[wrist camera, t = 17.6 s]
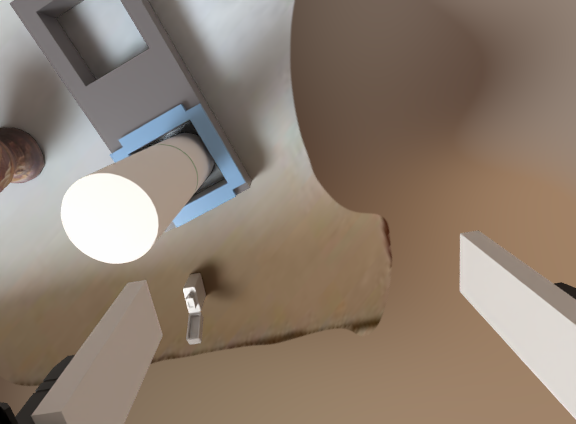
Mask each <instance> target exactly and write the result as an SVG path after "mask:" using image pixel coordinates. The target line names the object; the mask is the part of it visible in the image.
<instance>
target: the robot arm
mask: <svg viewBox="0 0 576 424" xmlns="http://www.w3.org/2000/svg"><path fill="white" fill-rule="evenodd" d="M460 292H461V293H462V294H463V295H464V297H465V298H466V299H467V300H468V301H469V302H470V303H471V304H472V305H473V307H474V308H475V309H476V310H477V311H478V312H479V313H480V314H481V315H482V316H483V317H484V319H485V320H486V321H487V322H488V323H489V324H490V325H491V326H492V328H493V329H494V330H495V331H496V332H497V333H498V334H499V335H500V336H501V337H502V339H504V341H505V342H506V343H507V344H508V345H509V346H510V347H511V348H512V350H513V351H514V352H515V353H516V354H517V355H518V356H519V357H520V358H521V359H522V361H523V362H524V363H525V364H526V365H527V366H528V367H529V368H530V370H531V371H532V372H533V373H534V374H535V375H536V376H537V377H538V378H539V379H540V381H541V382H542V383H543V384H544V385H545V386H546V387H547V388H548V389H549V390H550V391H551V393H552V394H553V395H554V396H555V397H556V398H557V399H558V400H559V402H560V403H561V404H562V405H563V406H564V407H565V408H566V409H567V410H568V412H569V413H570V414H572V416H573V417H574V418H575V419H576V288H574V287H572V286H569V285H567V284H564V283H555V284H553V283H552V282H550V281H549V280H547V279H546V278H545V277H543V276H542V275H540V274H539V273H538V272H536V271H535V270H533V269H532V268H531V267H529V266H528V265H526V264H525V263H524V262H522V261H520V260H519V259H518V258H516V257H515V256H513V255H512V254H511V253H509V252H508V251H507V250H505V249H504V248H502V247H501V246H499V245H498V244H497V243H495V242H494V241H493V240H491V239H489V238H488V237H487V236H485V235H484V234H483V233H481V232H480V231H473V232H466V233H461V234H460ZM162 336H163V335H162V331H161V328H160V325H159V321H158V318H157V315H156V311H155V308H154V305H153V302H152V298H151V295H150V292H149V288H148V285H147V282H146V280H143V281H136V282H130V283H127V285H126V286H125V287H124V289H123V290H122V292H121V293H120V294H119V296H118V297H117V298H116V300H115V301H114V302H113V304H112V305H111V307H110V308H109V309H108V311H107V312H106V313H105V315H104V316H103V318H102V319H101V320H100V322H99V323H98V324H97V326H96V327H95V329H94V330H93V331H92V333H91V334H90V335H89V337H88V338H87V340H86V341H85V342H84V344H83V345H82V346H81V348H80V349H79V351H78V352H77V353H76V355H72V356H67V357H66V358H65V359H63V360H62V361H61V362H60V363H59V364H57V365H56V366H55V367H54V368H53V369H52V370H51V371H50V373H49V374H48V375H47V376H46V378H45V379H44V380H43V381H44V382H43V383H41V384H40V386H39V387H38V388H37V389H36V393H33V395H32V396H31V397H30V398H29V400H28V401H27V402H26V404H25V405H24V406H23V408H22V409H21V410H20V411H19V413H18V414H17V415H16V417H15V416H14V414H13V412H12V410H11V408H10V406H9V405H8V404H7V403H1V402H0V424H124V423H125V420H126V418H127V416H128V413H129V411H130V409H131V406H132V404H133V402H134V400H135V397H136V395H137V393H138V391H139V388H140V386H141V383H142V381H143V379H144V376H145V374H146V372H147V370H148V368H149V365H150V363H151V361H152V358H153V356H154V354H155V352H156V349H157V347H158V345H159V342H160V340H161V338H162Z"/></svg>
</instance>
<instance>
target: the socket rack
mask: <svg viewBox="0 0 576 424" xmlns="http://www.w3.org/2000/svg"><path fill="white" fill-rule="evenodd" d="M82 1H83V0H14V1H12V2H11V3H10V5H11V6H12V8H13V9H14V11H15V12H16V14H17V15H18V16H19V18H20V19H21V21H22V22H23V24H24V25H25V27H26V28H27V30H28V31H29V33H30V34H31V36H32V37H33V38H34V40H35V41H36V43H37V44H38V46H39V47H40V49H41V50H42V52H43V53H44V55H45V56H46V57H47V59H48V60H49V62H50V63H51V65H52V66H53V68H54V69H55V71H56V72H57V74H58V75H59V77H60V78H61V79H62V81H63V82H64V84H65V85H66V87H67V88H68V90H69V91H70V93H71V94H72V96H73V97H74V98H75V100H76V101H77V103H78V104H79V106H80V107H81V109H82V110H83V112H84V113H85V115H86V116H87V118H88V119H89V120H90V122H91V123H92V125H93V126H94V128H95V129H96V131H97V132H98V134H99V135H100V137H101V138H102V139H103V141H104V142H105V144H106V145H107V147H108V148H109V150H110V151H111V153H112V154H110V156H111V158H112V159H113V161H114V162H115V163H116V162H118V161H120V160H122V159H124V158H126V157H129V156H131V155H133V154H135V153H137V152H140V151H142V149H141V148H143V147H145V146H146V145H148V144H150V143H152V142H153V141H155V140H157V139H159V138H161V137H162V136H164V135H166V134H168V133H169V132H171V131H173V130H175V129H176V128H178V127H180V126H182V125H184V124H185V123H187V122H189V121H191V122H192V124H193V125H194V127H195V129H196V130H197V132H198V134H199V135H200V137H201V139H202V140H203V142H204V144H205V146H206V147H207V149H208V151H209V152H210V154H211V156H212V157H213V159H214V161H215V162H216V164H217V166H218V167H219V169H220V171H221V172H222V174H223V176H224V177H225V179H224V180H222V181H220V182H218V183H216V184H215V185H213V186H211V187H209V188H207V189H205V190H203V191H202V192H200V193H198V194H196V195H194V196H192V197H191V198H190V200H189V201H188V202H187V203H186V205H185V206H184V207H183V208H182V210H181V211H180V212H179V213H178V215H177V216H176V217H175V218H174V220H173V221H172V222H171V223H170V225H169V226H168V227H167V228H166V229H165V232H167V231H169V230H171V229H173V228H175V227H179V226H181V225H183V224H185V223H187V222H189V221H190V220H192V219H194V218H196V217H198V216H200V215H202V214H204V213H206V212H207V211H209V210H211V209H213V208H215V207H217V206H219V205H221V204H223V203H224V202H226V201H228V200H230V199H232V198H234V197H236V195H237V194H239V193H241V192H243V191H245V190H247V189H249V188H250V185H251V182H252V180H251V178H250V177H249V175H248V173H247V171H246V170H245V168H244V166H243V165H242V163H241V161H240V159H239V158H238V156H237V154H236V152H235V151H234V149H233V147H232V145H231V144H230V142H229V140H228V138H227V137H226V135H225V133H224V132H223V130H222V128H221V126H220V125H219V123H218V121H217V119H216V118H215V116H214V114H213V112H212V111H211V109H210V107H209V105H208V104H207V102H206V100H205V99H204V97H203V95H202V93H201V92H200V90H199V88H198V86H197V85H196V83H195V81H194V79H193V78H192V76H191V74H190V73H189V71H188V69H187V67H186V66H185V64H184V62H183V60H182V59H181V57H180V55H179V53H178V52H177V50H176V48H175V46H174V45H173V43H172V41H171V40H170V38H169V36H168V34H167V33H166V31H165V29H164V27H163V26H162V24H161V22H160V20H159V19H158V17H157V15H156V13H155V12H154V10H153V8H152V7H151V5H150V3H149V1H148V0H121V2H122V4H123V5H124V7H125V9H126V10H127V12H128V14H129V15H130V17H131V19H132V20H133V22H134V24H135V25H136V27H137V29H138V30H139V32H140V34H141V35H142V37H143V39H144V40H145V42H146V44H147V45H148V47H149V49H147V50H146V51H144V52H142V53H141V54H139V55H137V56H136V57H134V58H132V59H131V60H129V61H127V62H126V63H124V64H122V65H121V66H119V67H117V68H116V69H114V70H112V71H111V72H109V73H108V74H106V75H104V76H103V77H101V78H99V79H98V80H96V79H95V77H94V76H93V74H92V73H91V71H90V70H89V68H88V67H87V65H86V64H85V62H84V61H83V59H82V58H81V56H80V55H79V53H78V51H77V50H76V48H75V47H74V45H73V44H72V42H71V41H70V39H69V38H68V36H67V35H66V33H65V32H64V30H63V29H62V27H61V26H60V24H59V22H58V21H57V19H56V18H57V17H58V16H60V15H61V14H63V13H65V12H66V11H68V10H69V9H71V8H72V7H74V6H76V5H77V4H79V3H80V2H82Z"/></svg>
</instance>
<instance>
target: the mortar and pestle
mask: <svg viewBox="0 0 576 424" xmlns="http://www.w3.org/2000/svg"><path fill="white" fill-rule="evenodd" d="M44 165H45V163H44V159H43V155H42V152H41V150H40V148H39V146H38V144H37V142H36V141H35V140H34V139H33V138H32V137H31V136H30V135H29V134H28V133H26V132H25V131H22V130H19V129H16V128H0V192H1V191H2V190H3V189H4V188H5V187H7V185H8V184H9V183H10V182H11V183H24V182H27V181H29V180H32V179H34V178H35V177H37V176H38V175H39V173H40V172H41V170H42V168H43V167H44Z"/></svg>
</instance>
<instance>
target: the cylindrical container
mask: <svg viewBox="0 0 576 424" xmlns="http://www.w3.org/2000/svg"><path fill="white" fill-rule="evenodd" d="M213 165H214V159H213V157H212V156H211V154H210V152H209V151H208V149H207V147H206V146H205V144H204V142H203V140H202V139H201V137H199V136H197V135H195V134H191V133H181V134H177V135H175V136H172V137H170V138H168V139H166V140H164V141H161V142H159V143H157V144H155V145H153V146H151V147H148V148H146V149H144V150H142V151H140V152H137V153H135V154H133V155H131V156H129V157H126V158H124V159H122V160H120V161H118V162H116V163H113V164H111V165H109V166H107V167H105V168H102V169H100V170H98V171H96V172H94V173H91V174H89V175H87V176H85V177H83V178H81V179H79V180H78V181H76V182H75V183H74V184H73V185H72V186H71V187H70V188H69V189H68V191H67V192H66V194H65V196H64V198H63V201H62V205H61V218H62V224H63V227H64V229H65V232H66V234H67V235H68V237H69V239H70V240H71V241H72V242H73V244H74V245H75V246H76V247H77V248H78V249H80V250H81V251H82V252H83V253H85V254H86V255H88V256H90V257H91V258H94V259H96V260H99V261H102V262H107V263H126V262H130V261H133V260H136V259H138V258H139V257H141V256H143V255H144V254H145V253H146V252H147V251H148V250H149V249H150V248H151V247H152V246H153V244H154V243H155V242H156V241H157V239H158V238H159V237H160V236H161V234H162V233H163V232H164V231H165V229H166V228H167V227H168V226H169V225H170V223H171V222H172V221H173V220H174V218H175V217H176V216H177V215H178V213H179V212H180V211H181V210H182V208H183V207H184V206H185V205H186V203H187V202H188V201H189V200H190V198H191V197H192V196H193V195H194V193H195V192H196V191H197V190H198V189H199V187H200V186H201V185H202V184H203V182H204V181H205V180H206V179H207V177H208V176H209V175H210V173H211V171H212V169H213Z"/></svg>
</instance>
